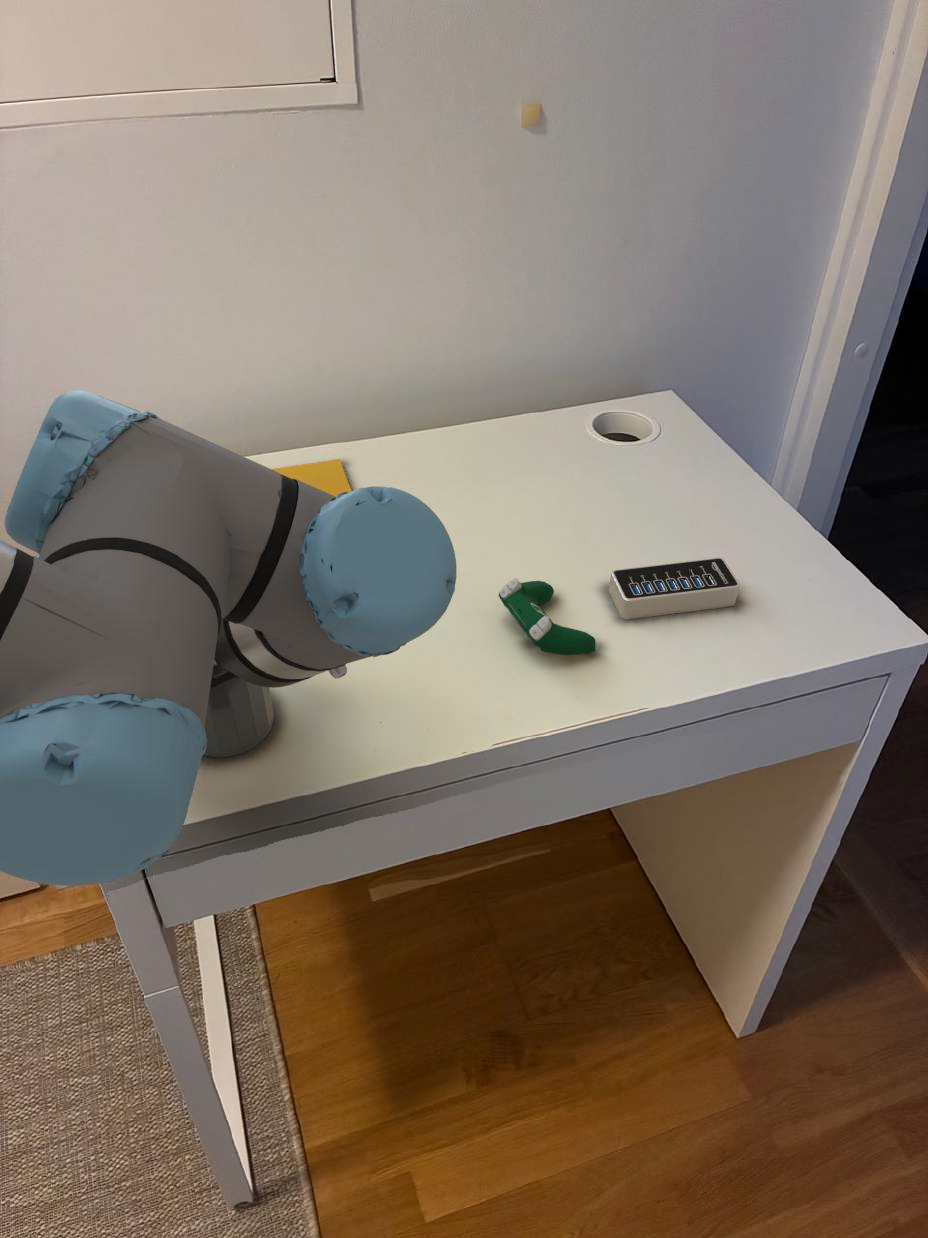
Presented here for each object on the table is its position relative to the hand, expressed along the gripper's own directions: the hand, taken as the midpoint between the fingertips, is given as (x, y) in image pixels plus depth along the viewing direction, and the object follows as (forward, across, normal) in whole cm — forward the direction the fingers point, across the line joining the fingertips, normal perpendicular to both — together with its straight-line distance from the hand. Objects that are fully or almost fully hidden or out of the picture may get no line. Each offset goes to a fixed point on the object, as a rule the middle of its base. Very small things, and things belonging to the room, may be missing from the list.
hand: (199, 666), depth 76 cm
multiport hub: (-9, +39, -15) cm, 43 cm away
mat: (+17, +17, +11) cm, 27 cm away
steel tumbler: (+1, 0, -5) cm, 5 cm away
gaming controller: (-5, +27, -12) cm, 30 cm away
